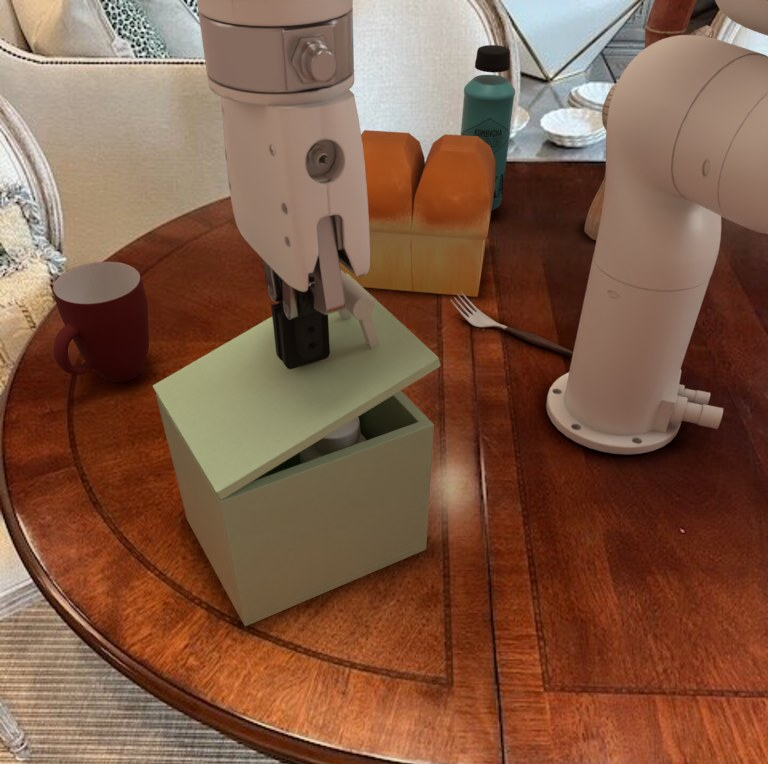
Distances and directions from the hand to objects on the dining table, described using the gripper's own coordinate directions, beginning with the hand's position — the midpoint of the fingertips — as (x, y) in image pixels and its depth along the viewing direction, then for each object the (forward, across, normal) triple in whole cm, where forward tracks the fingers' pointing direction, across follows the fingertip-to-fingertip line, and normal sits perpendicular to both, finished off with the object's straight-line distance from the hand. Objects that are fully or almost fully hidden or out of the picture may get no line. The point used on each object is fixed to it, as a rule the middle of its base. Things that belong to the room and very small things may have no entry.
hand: (303, 357), depth 52 cm
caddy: (+17, 0, +1) cm, 17 cm away
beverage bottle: (+17, +43, -45) cm, 64 cm away
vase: (+17, +29, -58) cm, 67 cm away
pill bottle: (+16, 0, -2) cm, 16 cm away
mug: (+17, +29, +8) cm, 35 cm away
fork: (+17, +16, -32) cm, 39 cm away
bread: (+17, +37, -27) cm, 48 cm away
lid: (+2, 0, +1) cm, 2 cm away
